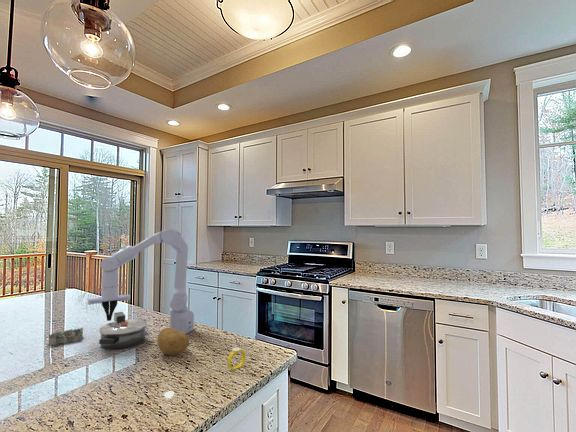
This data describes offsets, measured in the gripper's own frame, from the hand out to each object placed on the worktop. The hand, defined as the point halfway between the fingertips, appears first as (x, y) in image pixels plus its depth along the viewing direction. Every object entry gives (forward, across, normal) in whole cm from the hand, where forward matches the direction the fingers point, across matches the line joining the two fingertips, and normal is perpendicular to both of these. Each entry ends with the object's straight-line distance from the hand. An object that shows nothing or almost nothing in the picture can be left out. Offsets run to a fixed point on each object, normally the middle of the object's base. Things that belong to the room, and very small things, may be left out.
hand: (109, 320), depth 119 cm
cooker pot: (+7, -5, +9) cm, 12 cm away
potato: (+7, -18, +31) cm, 37 cm away
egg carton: (+7, +14, -5) cm, 16 cm away
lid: (+1, -4, +7) cm, 8 cm away
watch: (+7, -32, +53) cm, 62 cm away
